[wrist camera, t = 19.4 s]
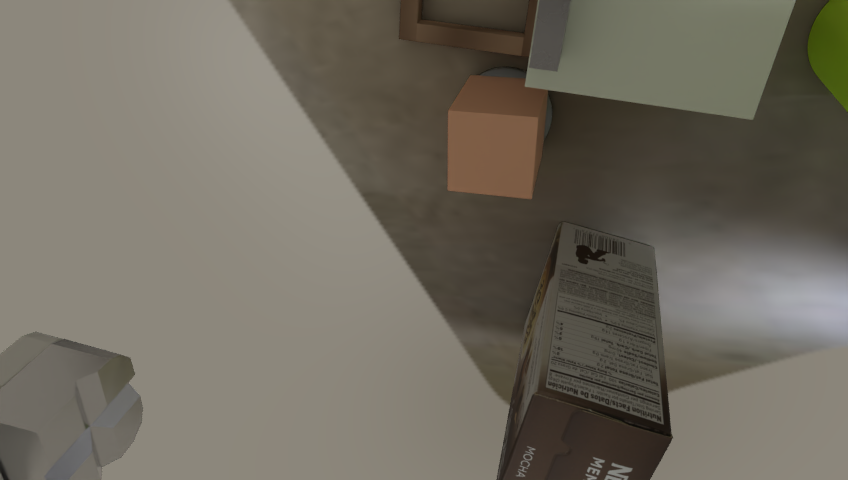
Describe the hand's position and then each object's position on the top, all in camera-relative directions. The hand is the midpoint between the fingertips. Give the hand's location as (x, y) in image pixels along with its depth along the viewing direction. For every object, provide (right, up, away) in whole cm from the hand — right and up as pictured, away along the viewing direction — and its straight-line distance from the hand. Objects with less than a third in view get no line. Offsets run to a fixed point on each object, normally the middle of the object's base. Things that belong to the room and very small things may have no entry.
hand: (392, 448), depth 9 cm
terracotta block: (+5, +10, +29) cm, 31 cm away
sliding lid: (+10, +13, +19) cm, 25 cm away
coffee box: (+11, 0, +35) cm, 37 cm away
